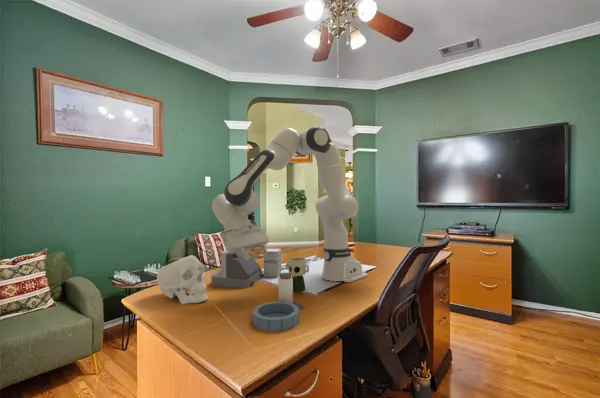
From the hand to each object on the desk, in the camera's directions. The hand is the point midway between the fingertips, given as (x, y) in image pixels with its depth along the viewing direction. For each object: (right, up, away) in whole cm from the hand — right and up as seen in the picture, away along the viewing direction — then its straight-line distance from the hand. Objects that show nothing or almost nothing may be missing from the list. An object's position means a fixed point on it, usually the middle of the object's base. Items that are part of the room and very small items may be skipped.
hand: (258, 256), depth 105 cm
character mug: (+14, -16, +12) cm, 25 cm away
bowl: (+8, -16, -17) cm, 25 cm away
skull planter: (-29, -17, +4) cm, 34 cm away
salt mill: (+11, -16, -6) cm, 20 cm away
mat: (+11, -16, -6) cm, 21 cm away
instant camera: (-13, -17, +26) cm, 34 cm away
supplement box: (+2, -16, +34) cm, 38 cm away
